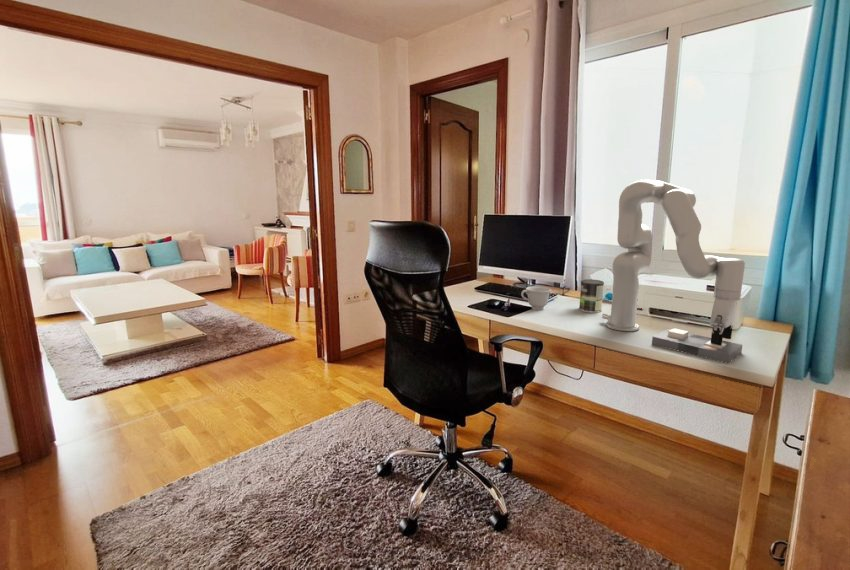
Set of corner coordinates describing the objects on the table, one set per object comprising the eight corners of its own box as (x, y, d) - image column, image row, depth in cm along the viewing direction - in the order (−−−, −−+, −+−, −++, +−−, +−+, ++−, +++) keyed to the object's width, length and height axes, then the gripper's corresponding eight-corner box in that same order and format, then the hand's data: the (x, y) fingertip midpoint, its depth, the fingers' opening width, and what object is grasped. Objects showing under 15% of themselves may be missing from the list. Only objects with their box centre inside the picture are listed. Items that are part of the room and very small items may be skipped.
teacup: (515, 306, 210) (516, 287, 208) (542, 304, 213) (543, 285, 211) (526, 313, 199) (527, 292, 197) (555, 310, 202) (556, 290, 200)
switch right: (703, 351, 146) (704, 343, 146) (708, 348, 150) (710, 340, 149) (720, 355, 143) (721, 347, 142) (725, 352, 146) (726, 344, 145)
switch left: (667, 338, 155) (668, 331, 155) (673, 335, 158) (673, 328, 158) (682, 341, 151) (683, 334, 151) (687, 338, 155) (688, 331, 154)
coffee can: (584, 313, 197) (586, 283, 194) (575, 307, 208) (577, 279, 205) (605, 312, 198) (608, 283, 195) (596, 306, 208) (598, 279, 205)
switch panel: (651, 344, 156) (652, 336, 155) (667, 336, 164) (668, 328, 164) (728, 363, 137) (729, 354, 137) (741, 352, 146) (742, 344, 145)
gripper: (722, 288, 153) (716, 333, 156) (705, 296, 142) (699, 344, 146) (747, 292, 147) (741, 338, 151) (731, 300, 136) (725, 349, 140)
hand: (720, 341), depth 148 cm, fingers open, 9 cm apart
